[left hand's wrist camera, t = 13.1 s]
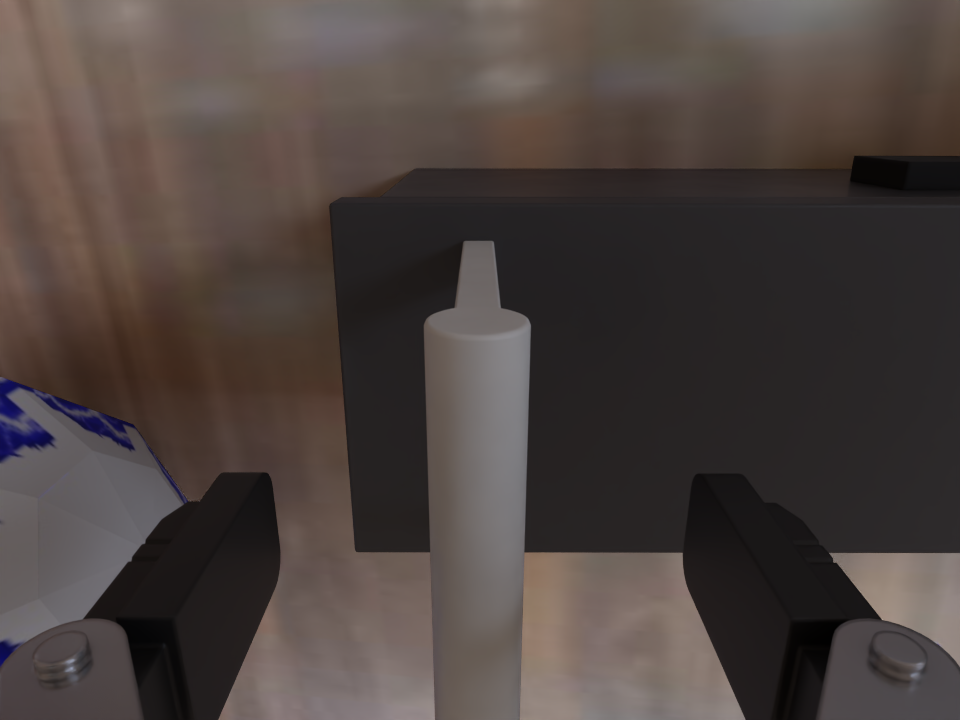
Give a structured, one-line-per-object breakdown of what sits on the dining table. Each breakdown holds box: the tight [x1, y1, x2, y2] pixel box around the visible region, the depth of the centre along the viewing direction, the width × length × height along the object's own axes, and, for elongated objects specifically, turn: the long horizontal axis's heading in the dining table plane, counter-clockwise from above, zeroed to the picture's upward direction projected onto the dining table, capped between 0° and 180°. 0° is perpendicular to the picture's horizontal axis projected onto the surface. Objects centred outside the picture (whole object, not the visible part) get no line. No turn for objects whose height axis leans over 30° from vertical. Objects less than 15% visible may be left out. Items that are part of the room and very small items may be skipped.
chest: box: [381, 168, 960, 198], centre depth 22 cm, size 17×9×9 cm, turn 90°
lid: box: [329, 197, 960, 720], centre depth 14 cm, size 18×9×9 cm, turn 90°
